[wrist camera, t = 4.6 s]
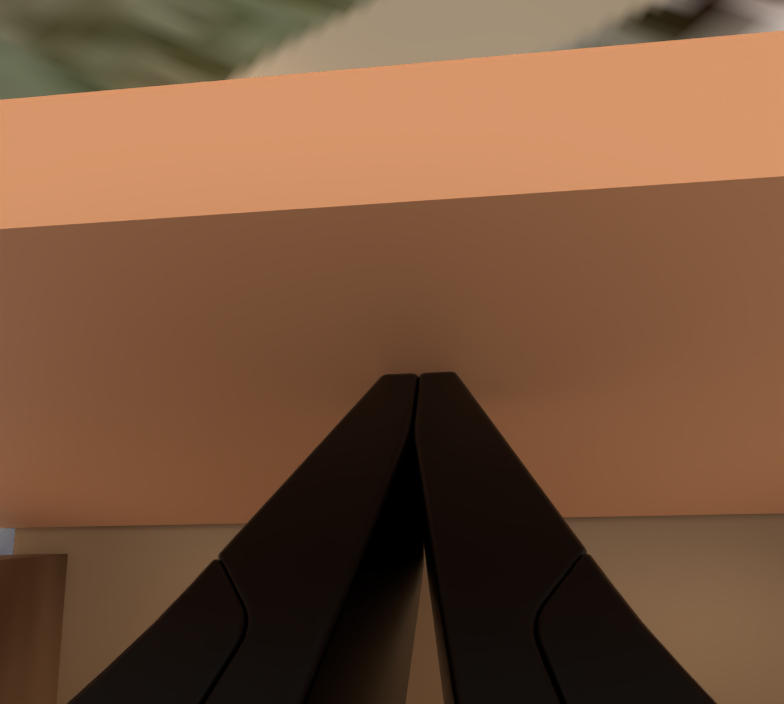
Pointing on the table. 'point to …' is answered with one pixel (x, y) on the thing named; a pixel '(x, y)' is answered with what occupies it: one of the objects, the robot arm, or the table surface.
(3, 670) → the brown shallow open box
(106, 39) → the table surface
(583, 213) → the tailgate
